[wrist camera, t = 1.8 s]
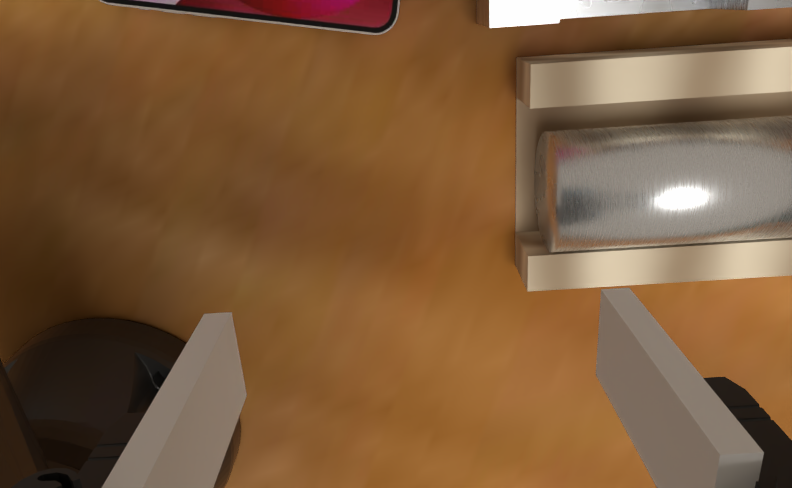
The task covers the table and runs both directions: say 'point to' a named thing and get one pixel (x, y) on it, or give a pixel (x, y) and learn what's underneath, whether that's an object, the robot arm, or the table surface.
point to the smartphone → (286, 12)
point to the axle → (664, 184)
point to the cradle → (596, 9)
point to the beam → (644, 105)
